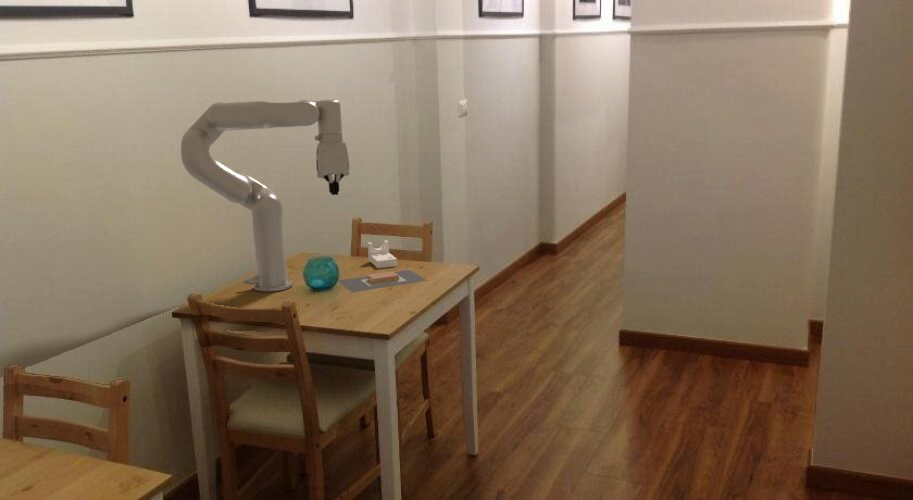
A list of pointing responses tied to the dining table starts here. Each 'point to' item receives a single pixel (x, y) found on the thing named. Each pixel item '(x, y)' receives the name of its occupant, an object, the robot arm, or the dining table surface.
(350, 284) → the mat
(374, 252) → the bracket
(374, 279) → the tile
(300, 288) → the dining table surface
